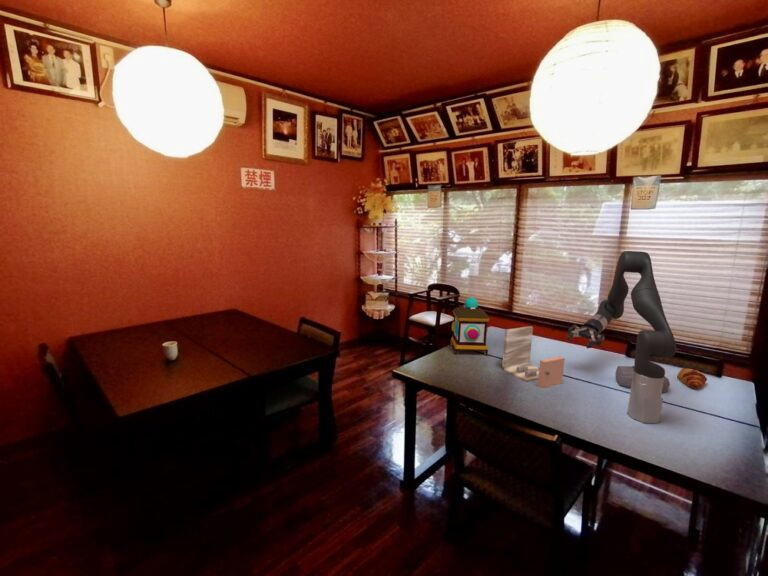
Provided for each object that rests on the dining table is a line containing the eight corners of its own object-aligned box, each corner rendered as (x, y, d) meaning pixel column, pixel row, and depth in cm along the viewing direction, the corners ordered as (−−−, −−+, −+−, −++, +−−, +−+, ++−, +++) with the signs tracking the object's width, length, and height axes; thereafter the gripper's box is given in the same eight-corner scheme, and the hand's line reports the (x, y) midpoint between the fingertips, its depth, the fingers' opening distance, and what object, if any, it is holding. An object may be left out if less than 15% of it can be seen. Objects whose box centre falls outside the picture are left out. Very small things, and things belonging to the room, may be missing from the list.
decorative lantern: (490, 357, 197) (495, 301, 191) (453, 356, 197) (456, 300, 191) (481, 344, 216) (485, 293, 211) (447, 343, 217) (450, 293, 211)
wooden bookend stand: (551, 376, 173) (556, 335, 170) (525, 382, 167) (529, 339, 163) (527, 364, 187) (530, 326, 184) (502, 369, 181) (505, 329, 177)
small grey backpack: (618, 388, 163) (673, 397, 155) (620, 370, 161) (677, 379, 153) (612, 375, 176) (663, 383, 169) (614, 358, 175) (666, 366, 167)
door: (563, 384, 165) (566, 359, 163) (543, 389, 161) (546, 362, 158) (557, 381, 168) (560, 356, 166) (537, 385, 164) (540, 360, 161)
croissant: (677, 379, 181) (670, 364, 182) (702, 374, 176) (695, 358, 177) (687, 396, 163) (679, 379, 163) (715, 391, 158) (706, 373, 158)
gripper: (580, 313, 178) (563, 330, 170) (612, 324, 167) (595, 342, 159) (578, 326, 181) (561, 342, 173) (610, 337, 171) (593, 356, 163)
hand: (577, 342), depth 166 cm, fingers open, 8 cm apart
